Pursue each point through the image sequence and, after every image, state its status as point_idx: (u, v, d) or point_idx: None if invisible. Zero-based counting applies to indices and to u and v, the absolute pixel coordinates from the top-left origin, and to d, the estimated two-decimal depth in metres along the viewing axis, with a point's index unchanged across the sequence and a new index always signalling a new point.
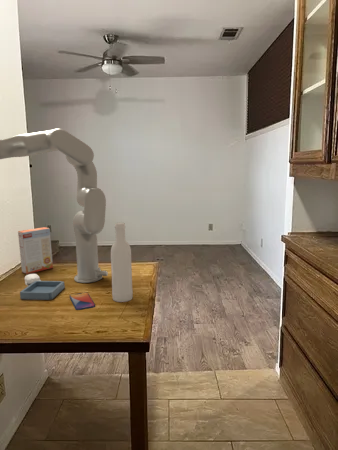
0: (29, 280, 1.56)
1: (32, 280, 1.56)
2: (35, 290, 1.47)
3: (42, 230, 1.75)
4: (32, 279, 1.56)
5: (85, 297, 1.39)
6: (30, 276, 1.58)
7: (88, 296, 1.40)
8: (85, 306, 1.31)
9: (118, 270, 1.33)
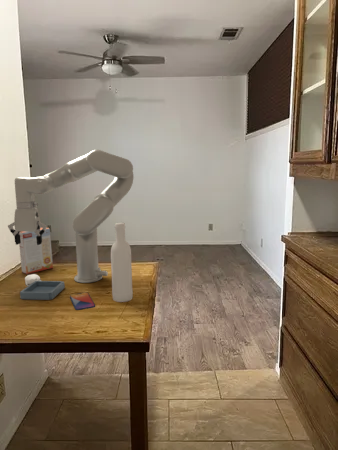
0: (29, 281, 1.55)
1: (32, 281, 1.55)
2: (35, 290, 1.47)
3: None
4: (32, 280, 1.55)
5: (85, 297, 1.39)
6: (30, 277, 1.57)
7: (88, 296, 1.40)
8: (85, 306, 1.31)
9: (118, 270, 1.33)
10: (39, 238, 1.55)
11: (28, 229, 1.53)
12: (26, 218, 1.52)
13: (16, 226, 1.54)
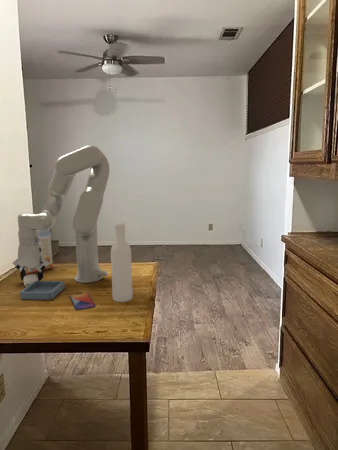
0: (28, 281, 1.54)
1: (31, 281, 1.54)
2: (35, 290, 1.47)
3: (42, 230, 1.75)
4: (31, 280, 1.55)
5: (85, 297, 1.39)
6: (29, 277, 1.56)
7: (88, 296, 1.40)
8: (85, 306, 1.31)
9: (118, 270, 1.33)
10: (40, 274, 1.58)
11: (31, 264, 1.56)
12: (29, 254, 1.55)
13: (19, 261, 1.56)
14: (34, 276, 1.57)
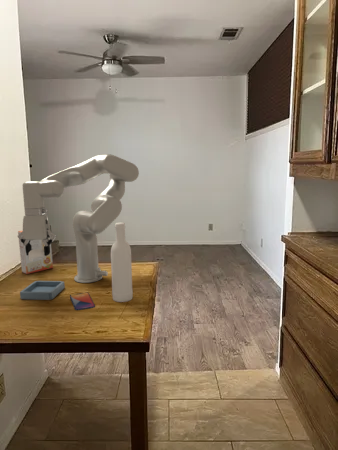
0: (33, 255, 1.41)
1: (36, 255, 1.41)
2: (35, 290, 1.47)
3: None
4: (36, 254, 1.41)
5: (85, 297, 1.39)
6: (34, 251, 1.43)
7: (88, 296, 1.40)
8: (85, 306, 1.30)
9: (118, 270, 1.33)
10: (47, 248, 1.44)
11: (37, 237, 1.43)
12: (35, 226, 1.42)
13: (24, 234, 1.43)
14: (40, 251, 1.44)
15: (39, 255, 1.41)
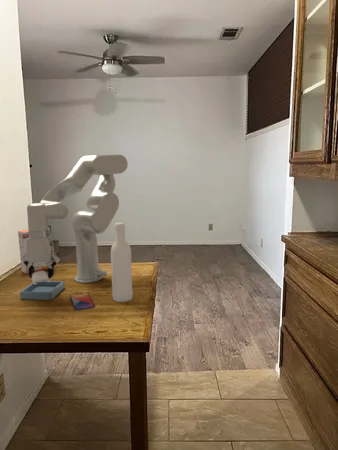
0: (37, 278, 1.39)
1: (40, 278, 1.39)
2: (35, 290, 1.47)
3: None
4: (40, 277, 1.40)
5: (85, 297, 1.39)
6: (38, 274, 1.41)
7: (88, 296, 1.40)
8: (84, 306, 1.30)
9: (118, 270, 1.33)
10: (51, 271, 1.43)
11: (41, 260, 1.41)
12: (39, 248, 1.40)
13: (28, 256, 1.42)
14: (44, 273, 1.42)
15: (43, 278, 1.40)
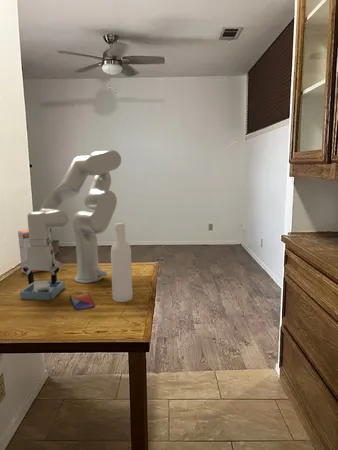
0: (39, 285, 1.41)
1: (42, 286, 1.41)
2: None
3: None
4: (42, 284, 1.41)
5: (85, 297, 1.39)
6: (40, 282, 1.43)
7: (88, 296, 1.40)
8: (84, 306, 1.30)
9: (118, 270, 1.33)
10: (54, 277, 1.44)
11: (42, 268, 1.42)
12: (40, 256, 1.41)
13: (29, 264, 1.42)
14: (46, 282, 1.44)
15: (45, 286, 1.41)
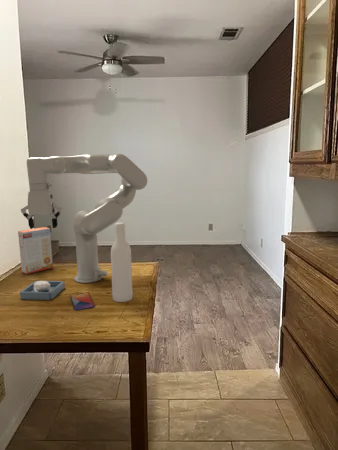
0: (39, 285, 1.41)
1: (42, 286, 1.41)
2: None
3: (42, 230, 1.75)
4: (42, 284, 1.41)
5: (85, 298, 1.39)
6: (40, 282, 1.43)
7: (89, 296, 1.40)
8: (84, 307, 1.30)
9: (118, 270, 1.33)
10: (55, 221, 1.49)
11: (43, 212, 1.47)
12: (40, 200, 1.46)
13: (30, 209, 1.47)
14: (46, 282, 1.44)
15: (45, 286, 1.41)
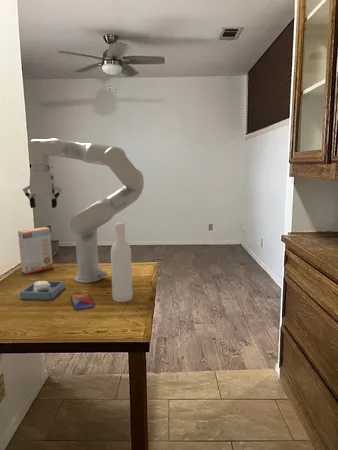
0: (39, 285, 1.41)
1: (42, 286, 1.41)
2: None
3: (42, 230, 1.75)
4: (42, 284, 1.41)
5: (85, 298, 1.38)
6: (40, 282, 1.43)
7: (89, 297, 1.40)
8: (84, 307, 1.30)
9: (118, 270, 1.33)
10: (54, 201, 1.56)
11: (43, 192, 1.54)
12: (41, 181, 1.53)
13: (31, 189, 1.54)
14: (46, 282, 1.44)
15: (45, 286, 1.41)
